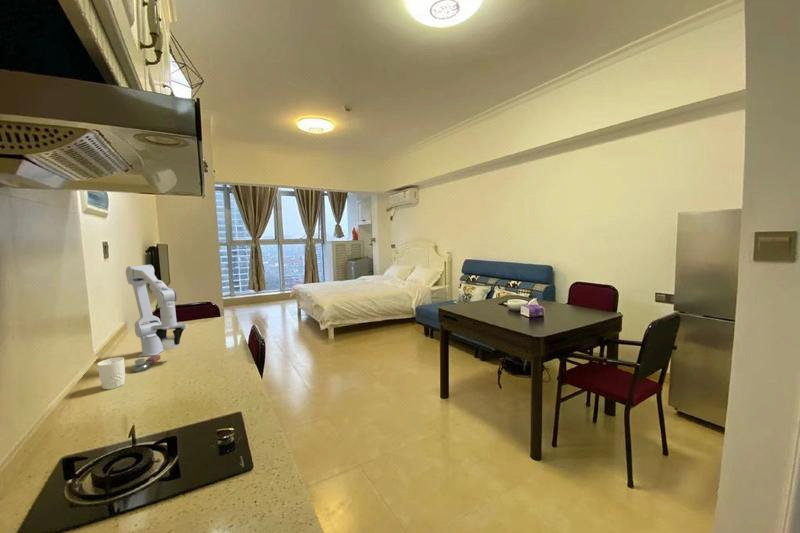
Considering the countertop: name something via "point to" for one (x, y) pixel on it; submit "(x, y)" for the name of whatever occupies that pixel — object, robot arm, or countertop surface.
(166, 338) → the socket
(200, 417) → the countertop surface
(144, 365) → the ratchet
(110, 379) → the white cup
